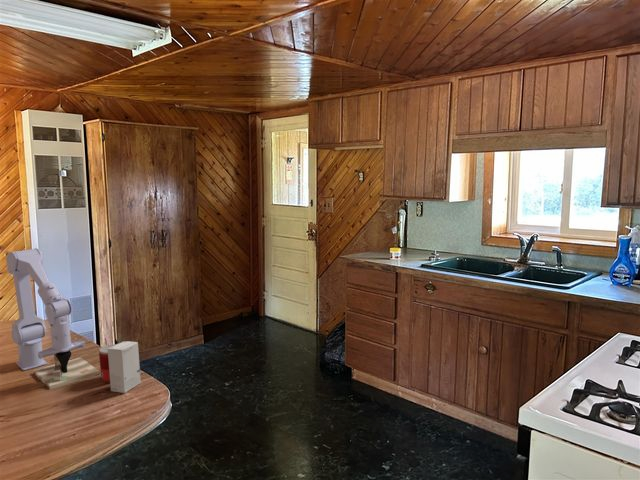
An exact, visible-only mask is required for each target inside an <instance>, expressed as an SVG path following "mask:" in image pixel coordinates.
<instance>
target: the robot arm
mask: <svg viewBox="0 0 640 480" xmlns="http://www.w3.org/2000/svg"><path fill="white" fill-rule="evenodd" d="M6 255H7V256H6V258H5V261H6V268H7V272H8V274H10V275H12V277H13V283H14V289H15V294H16V295H15V297H16V302H17V308H18V315H19V316H18V317H17V319H16V320H15V321H14V322H13V323H12V324H11V339H12V341H13V343H14V344H16V345H18V346H17V352H18V353H17V354H18V361H16V365H17V366H18V367H19V368H20V369H21V370H22V371H27V370H31V369H34V368H38V367H42V366H44V365H47V364H48V362H47V361H46V360H45V359H44V358H46V357H50V356H54V355H55V356H56V357H57V359H58V360H59V362H60V364H61V369H62V372H63V373H66V372H67V364H68V361H69V360H71V359H70V358H71V356H72V352H71V351H73V350H76V349H79V348H82V349H83V348H85V347H86V341H84V340H79V341H73V342H72V339H71V327H70V326H71V325H70V318H69V315H71V314H72V304H71V301H70V300H69V299H68V298H66V297H65V296H62V294H61V293H60V291H59V290H58V287H57V286H56V283H54V282H50V280H49V279H48V276H47V274H46V272H45V270H44V267H43V265H44V263H43V262H44V258H43V257H44V256H43V253H42V250H40V249H39V248H37V247H35V248H32V249H23V250H16V251H9V252H8V253H7V254H6ZM30 277H31V278H32V280H33V281H34V282H35V284H36V285H37V287H38V289H37V294H38V295H39V297H40V299H41V301H42V303H43V304H44V306H45V307H44V308H45V309H44V312H45V315H46V318H47V322H48V324H49V325H50V333H51V334H50V336H51V337H50V338H51V345H52V346H51V347H48V348H46V349H44V350H43V343H42V341H44V338H45V337H46V335H47V327H46V325H45V322H44V320H43V318H42V317H40V316H38V315H36V312H35V304H34V298H33V291H32V283H31V278H30Z"/></svg>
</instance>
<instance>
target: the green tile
mask: <svg viewBox="0 0 640 480" xmlns="http://www.w3.org/2000/svg"><path fill="white" fill-rule="evenodd" d="M62 380H67V376H64V377H61V380H55V381H54V378H52V379H51V380H50V382H56V381H62Z"/></svg>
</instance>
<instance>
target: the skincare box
mask: <svg viewBox="0 0 640 480" xmlns="http://www.w3.org/2000/svg"><path fill="white" fill-rule="evenodd" d="M108 360H109V372H110V383H109V384H110V391H111V392H116V393H119V394H126V393H128V392H129V391H130V390H132V389H134V388H135V387H136V386H139V385H140V384H141V382H142V381H141V367H140V354H139V342H138V341H128V340H127V341H125V340H124V341H121V342H120V343H116V345H115V346H113V347H111V348H108Z"/></svg>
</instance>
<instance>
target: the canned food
mask: <svg viewBox="0 0 640 480" xmlns="http://www.w3.org/2000/svg"><path fill="white" fill-rule="evenodd" d="M116 344H117V343H116ZM116 344H108V345H107V344H106V345H104V346H102V347H101V348H99V349H98V350H99V351H98V357H99V367H100V377H101V378H100V379H101V381H102V382H104V383H109V384H110V372H109V360H108V348H111V347H113V346H115V345H116Z"/></svg>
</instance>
